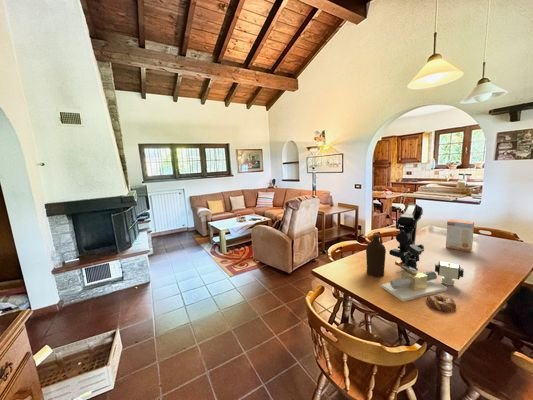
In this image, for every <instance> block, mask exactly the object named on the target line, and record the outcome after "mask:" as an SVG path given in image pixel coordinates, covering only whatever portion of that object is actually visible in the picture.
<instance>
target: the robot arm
mask: <svg viewBox="0 0 533 400" xmlns="http://www.w3.org/2000/svg"><path fill="white" fill-rule="evenodd" d="M423 211H424V209H423V207H422V206H419V204H417V203H408V204H407V205H406V207H405V212H404V213H403V214H402V213H401V214H400V215H399V217H398V219H397V222H396V223H397V224H396V227H395V228H396V230H399V231H398V232H397V234H396V236H395V241H397V243H399V245H397V248H391V249H390V250H389V255H391V256H393V257H396V258H399V259H400V261H401V262H403V263H405V265H407V266H410V267H412V268H414V269H416V270H417V271H419V270H418V269H419V268H418V264H417V262H420V256H421V255H422V253H424V252H425V246H424V244H416V239H417V238H416V236H417V229H418V227H417V226H418V222H419V221H420V219H421V218H422V216H423V215H424V214H423ZM401 268H402V269H404V270H405V271H406V270H407V269H405V268H403V267H401Z"/></svg>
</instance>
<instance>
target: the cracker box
mask: <svg viewBox="0 0 533 400" xmlns="http://www.w3.org/2000/svg"><path fill="white" fill-rule="evenodd" d="M474 227H475V222H473V221H465V220H458V219H457V220H456V219H455V220H454V219H449V220H447V224H446V237H445V239H446V240H445V242H446V243H445V248H446V249H452V250H456V251H461V252H466V253H471V252H472V251H473V245H474V244H473V241H474V240H473V239H474V231H475V230H474Z"/></svg>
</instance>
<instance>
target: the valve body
mask: <svg viewBox="0 0 533 400" xmlns="http://www.w3.org/2000/svg"><path fill="white" fill-rule="evenodd" d="M416 271H417V274H412V273H411V271H409V270H406V269H405V270H402V271H401V277H400V278H396V279H392V280H389V281H390V282H389V283H390V284H391V286H392V288H394V289H398V288H402V287H408V288H409V289H411V290H413V291H418V290H422V289H426V288H427V281H431V280H433V281H435V280H436V279H437V278H438V274H437V272H435V271H432V270H430V271H425V272H421V271H419V270H416Z"/></svg>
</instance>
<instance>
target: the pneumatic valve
mask: <svg viewBox="0 0 533 400" xmlns="http://www.w3.org/2000/svg"><path fill="white" fill-rule="evenodd" d="M434 272H435V273H436V274H437V276H438V277H439V276H440V277H441V282H442V283H443V285H446V286H453V285H455V280H460V279H461V278H464V268H463V267H462V268H461V265H460V264H456V263H455V264H454V263H451V262H445V261H438V263H435V265H434Z"/></svg>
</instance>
